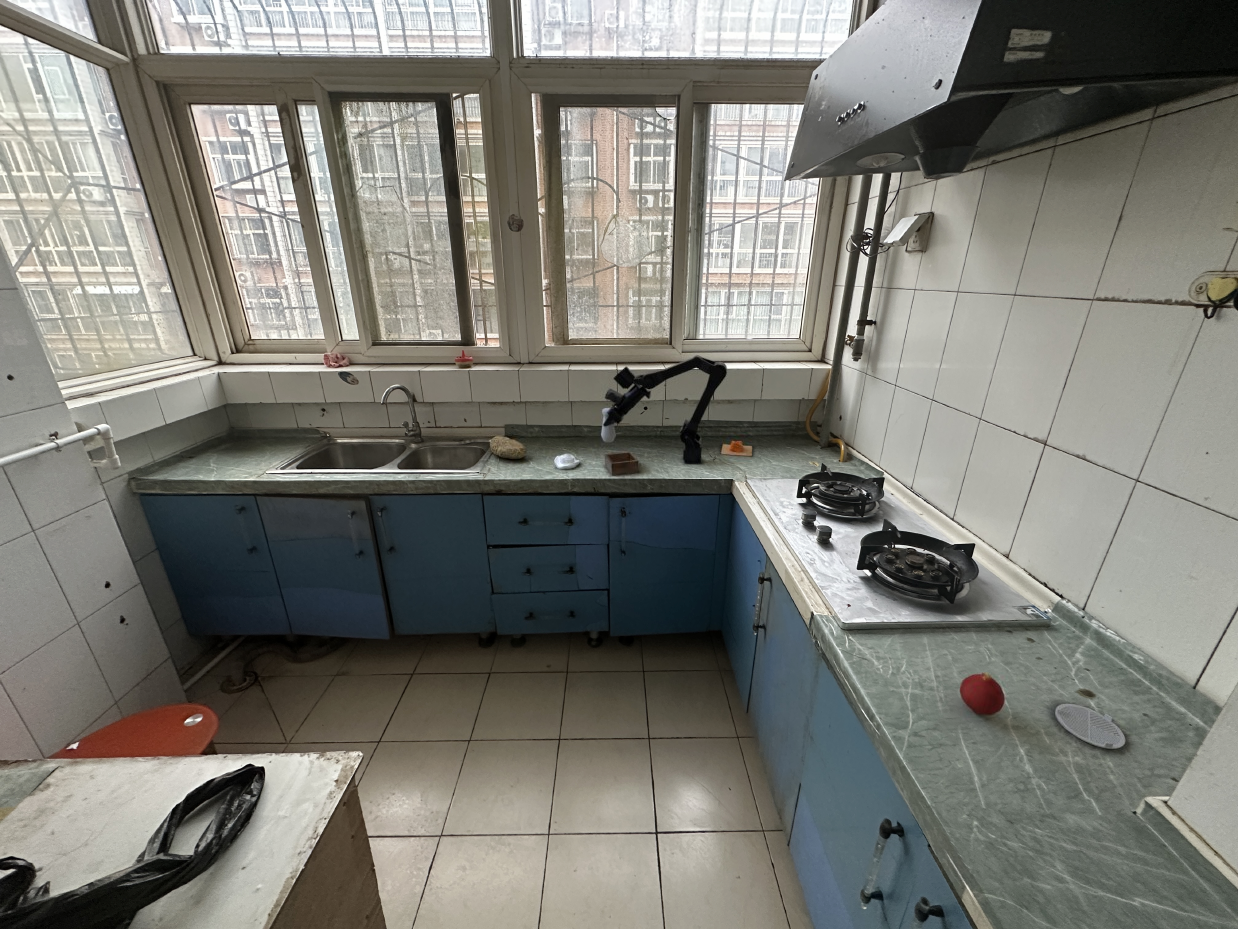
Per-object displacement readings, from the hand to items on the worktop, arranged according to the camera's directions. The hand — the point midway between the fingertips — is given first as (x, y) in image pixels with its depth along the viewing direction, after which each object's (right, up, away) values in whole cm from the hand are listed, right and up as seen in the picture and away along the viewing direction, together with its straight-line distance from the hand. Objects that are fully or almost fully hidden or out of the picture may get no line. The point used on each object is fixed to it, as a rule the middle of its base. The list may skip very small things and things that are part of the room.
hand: (604, 424), depth 195 cm
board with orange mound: (+54, -10, +9) cm, 55 cm away
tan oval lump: (-39, -12, +6) cm, 41 cm away
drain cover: (+80, -58, -116) cm, 152 cm away
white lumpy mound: (-14, -16, -5) cm, 22 cm away
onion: (+65, -57, -113) cm, 142 cm away
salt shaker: (+1, -6, +2) cm, 7 cm away
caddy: (+6, -17, -9) cm, 21 cm away
